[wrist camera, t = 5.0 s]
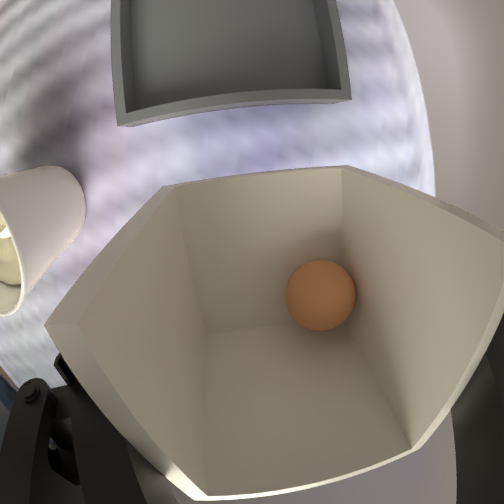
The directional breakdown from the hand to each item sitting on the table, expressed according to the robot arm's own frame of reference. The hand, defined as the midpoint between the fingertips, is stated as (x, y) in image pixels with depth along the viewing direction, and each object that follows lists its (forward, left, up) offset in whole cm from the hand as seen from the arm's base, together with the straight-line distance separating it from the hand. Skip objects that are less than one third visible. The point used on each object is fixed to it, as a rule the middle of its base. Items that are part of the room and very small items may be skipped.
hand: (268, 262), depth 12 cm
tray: (-17, 0, -13) cm, 21 cm away
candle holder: (-3, -19, -13) cm, 23 cm away
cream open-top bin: (0, 0, 0) cm, 0 cm away
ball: (+1, +2, +2) cm, 3 cm away
